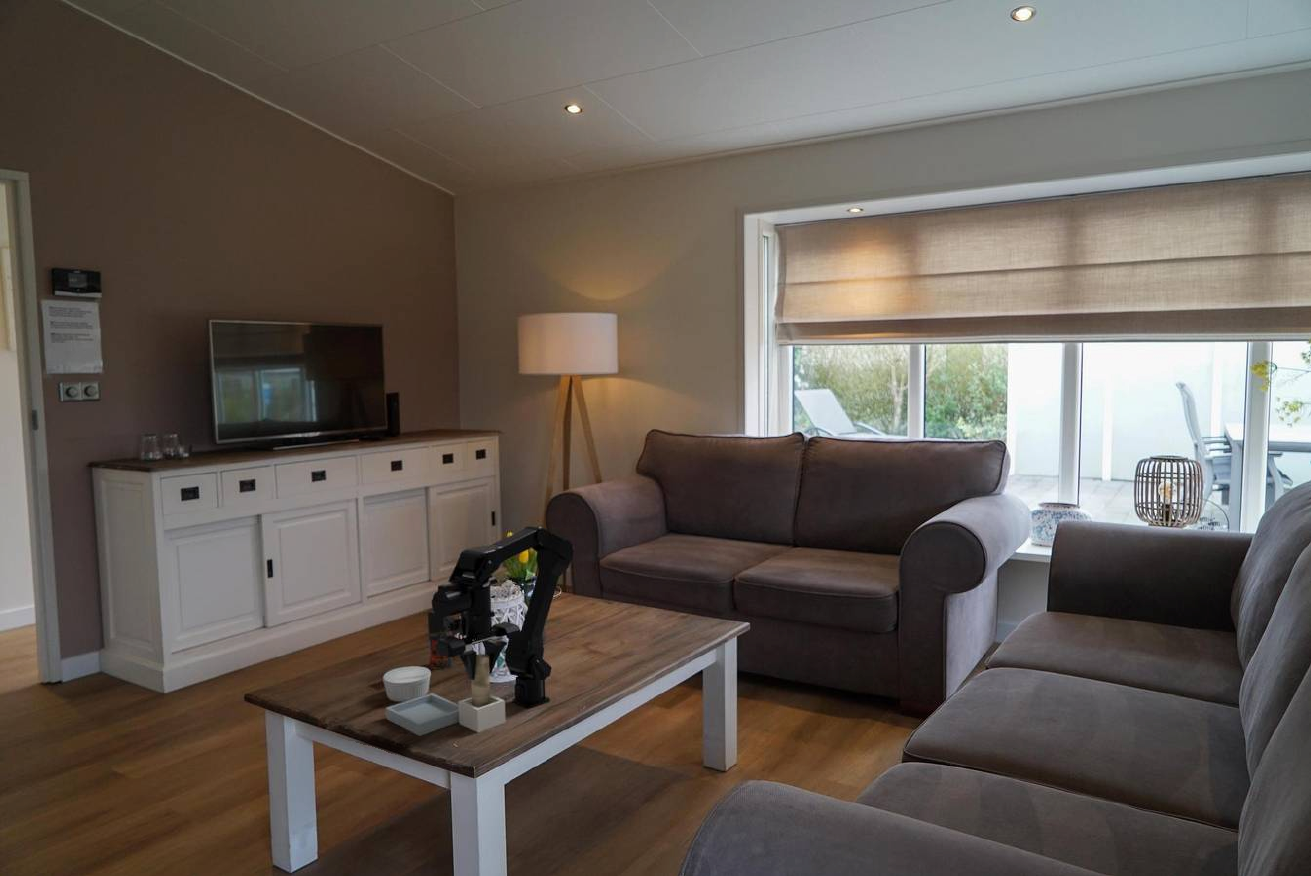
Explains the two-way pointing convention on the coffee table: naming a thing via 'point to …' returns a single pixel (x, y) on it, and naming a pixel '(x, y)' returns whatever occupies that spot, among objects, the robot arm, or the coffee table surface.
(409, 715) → the slate tray
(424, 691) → the ramekin
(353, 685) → the coffee table surface
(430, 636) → the deodorant
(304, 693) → the coffee table surface
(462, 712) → the white open box
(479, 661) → the beech dowel
